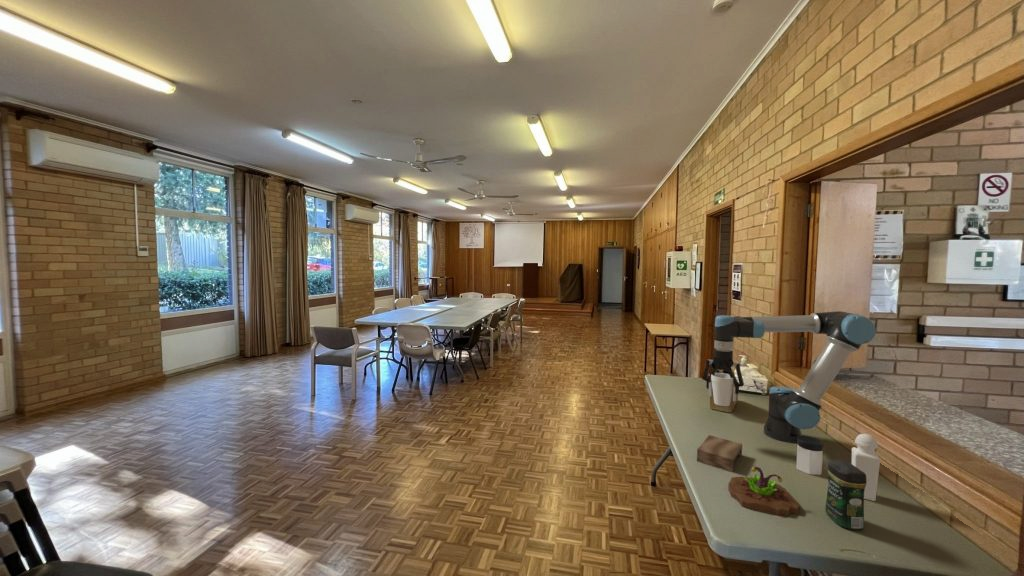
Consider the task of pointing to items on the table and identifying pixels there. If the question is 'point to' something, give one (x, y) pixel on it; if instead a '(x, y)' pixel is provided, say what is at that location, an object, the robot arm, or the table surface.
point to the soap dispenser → (867, 463)
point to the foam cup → (722, 388)
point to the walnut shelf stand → (719, 452)
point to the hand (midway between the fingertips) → (722, 398)
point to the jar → (809, 455)
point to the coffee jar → (845, 494)
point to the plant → (762, 494)
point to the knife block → (712, 404)
